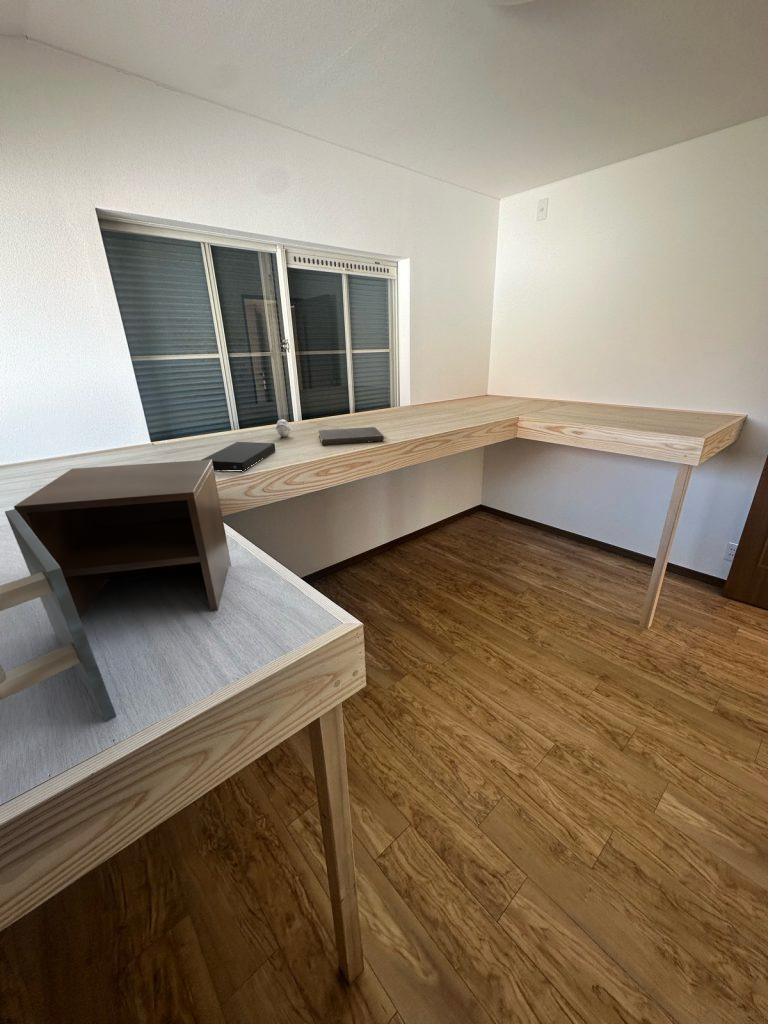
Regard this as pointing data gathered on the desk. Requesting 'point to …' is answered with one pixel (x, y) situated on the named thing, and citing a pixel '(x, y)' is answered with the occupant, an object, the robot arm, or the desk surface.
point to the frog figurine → (283, 428)
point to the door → (62, 617)
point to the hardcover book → (349, 435)
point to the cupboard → (131, 525)
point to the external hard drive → (240, 455)
